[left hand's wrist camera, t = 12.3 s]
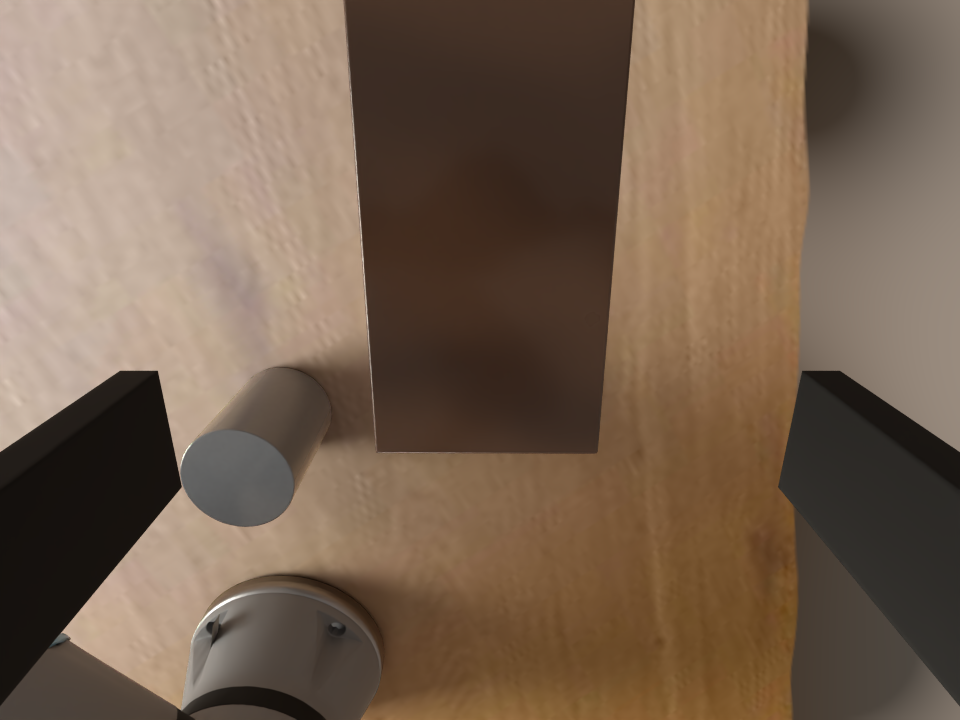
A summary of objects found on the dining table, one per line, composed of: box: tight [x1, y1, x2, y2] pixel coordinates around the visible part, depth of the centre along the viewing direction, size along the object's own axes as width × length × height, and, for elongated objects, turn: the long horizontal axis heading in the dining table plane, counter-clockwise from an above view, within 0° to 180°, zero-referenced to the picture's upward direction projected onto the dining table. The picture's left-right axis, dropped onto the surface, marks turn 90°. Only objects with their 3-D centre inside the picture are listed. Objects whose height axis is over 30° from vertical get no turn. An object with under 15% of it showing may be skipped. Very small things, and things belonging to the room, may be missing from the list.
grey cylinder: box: [180, 367, 332, 527], centre depth 38 cm, size 6×6×9 cm
